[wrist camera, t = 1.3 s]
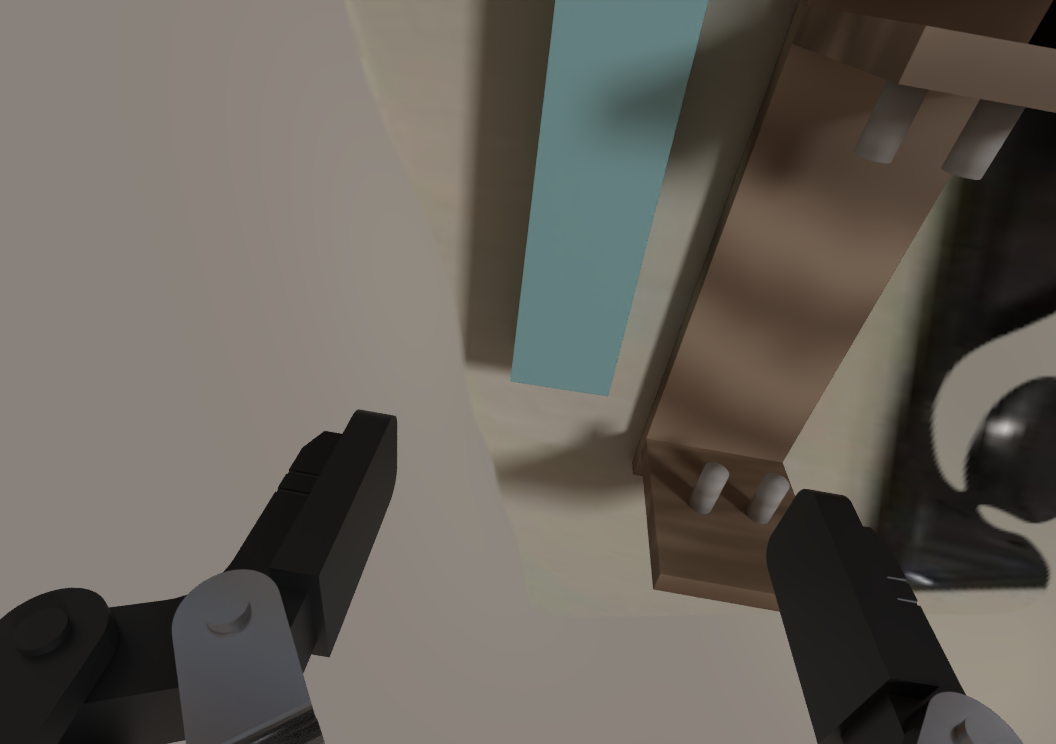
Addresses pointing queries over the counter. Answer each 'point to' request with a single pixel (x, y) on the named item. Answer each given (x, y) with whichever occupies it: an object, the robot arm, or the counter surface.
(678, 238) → the counter surface
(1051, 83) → the rack
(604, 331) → the teal rectangular block
